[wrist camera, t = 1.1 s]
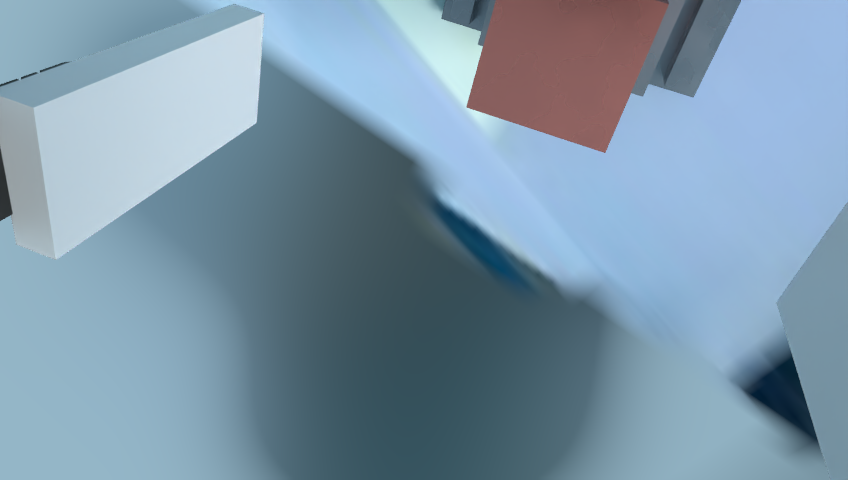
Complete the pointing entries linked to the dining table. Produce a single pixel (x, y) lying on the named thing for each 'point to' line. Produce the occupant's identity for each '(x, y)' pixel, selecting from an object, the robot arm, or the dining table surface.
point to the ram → (569, 62)
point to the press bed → (684, 51)
